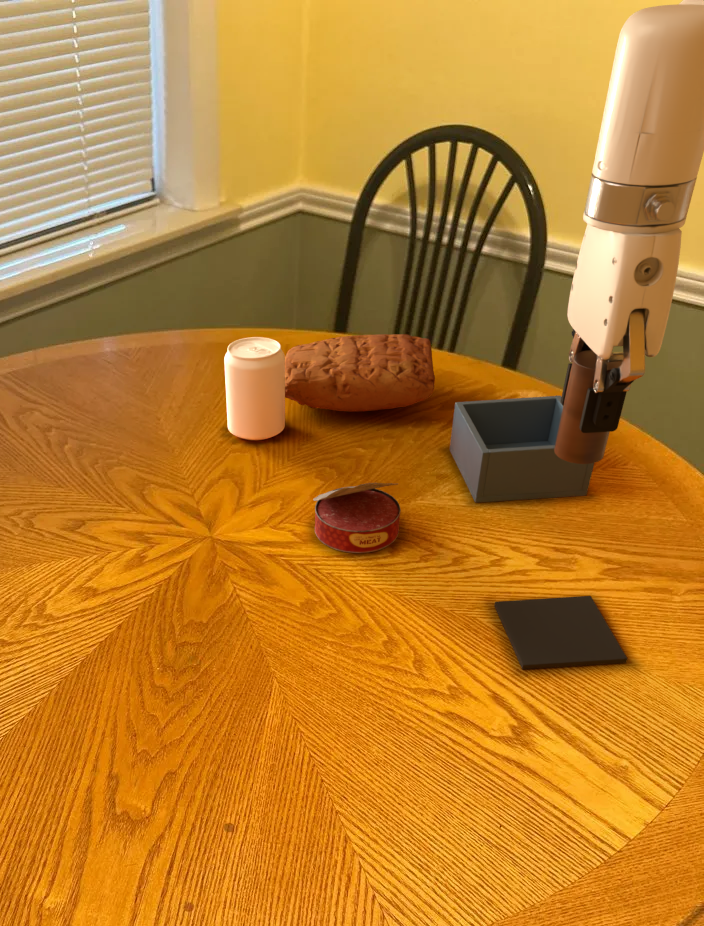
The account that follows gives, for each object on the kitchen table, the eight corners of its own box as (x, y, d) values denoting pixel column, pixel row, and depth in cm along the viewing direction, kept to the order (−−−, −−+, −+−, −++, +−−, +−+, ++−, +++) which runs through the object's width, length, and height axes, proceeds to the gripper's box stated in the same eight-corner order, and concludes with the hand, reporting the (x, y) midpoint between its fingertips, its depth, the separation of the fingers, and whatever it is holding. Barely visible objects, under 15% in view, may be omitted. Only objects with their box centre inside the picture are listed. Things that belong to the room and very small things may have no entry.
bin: (550, 443, 119) (560, 395, 114) (586, 495, 108) (598, 445, 104) (449, 449, 119) (455, 402, 114) (475, 502, 108) (482, 452, 104)
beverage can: (257, 411, 130) (254, 330, 123) (297, 428, 126) (297, 345, 118) (216, 431, 126) (211, 348, 119) (255, 449, 122) (253, 364, 114)
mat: (589, 599, 93) (590, 595, 93) (626, 663, 85) (627, 658, 85) (493, 606, 93) (494, 601, 93) (522, 669, 85) (523, 665, 85)
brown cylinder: (594, 440, 85) (616, 348, 79) (610, 462, 82) (635, 368, 76) (548, 442, 85) (566, 351, 79) (562, 465, 82) (583, 371, 76)
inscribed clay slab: (432, 379, 136) (437, 327, 131) (430, 431, 123) (436, 376, 118) (288, 375, 140) (287, 324, 134) (272, 425, 127) (271, 371, 122)
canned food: (320, 576, 106) (280, 510, 102) (349, 525, 112) (312, 460, 108) (404, 560, 99) (365, 488, 94) (429, 507, 105) (394, 436, 100)
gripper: (736, 228, 63) (666, 460, 74) (644, 171, 76) (596, 376, 87) (629, 235, 63) (576, 465, 75) (555, 177, 76) (520, 381, 87)
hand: (587, 415), depth 81 cm, fingers closed on brown cylinder, 4 cm apart
